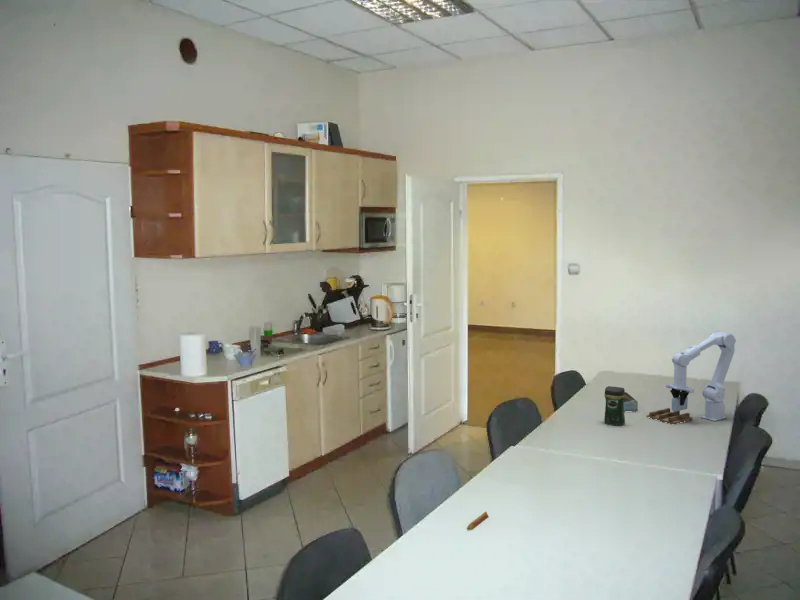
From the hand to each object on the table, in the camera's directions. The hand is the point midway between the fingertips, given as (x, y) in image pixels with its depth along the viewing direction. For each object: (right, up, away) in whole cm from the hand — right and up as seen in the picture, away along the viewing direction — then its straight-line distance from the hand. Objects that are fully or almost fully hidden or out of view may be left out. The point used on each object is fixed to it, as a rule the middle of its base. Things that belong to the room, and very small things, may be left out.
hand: (679, 404), depth 342 cm
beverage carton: (-18, -6, +28) cm, 34 cm away
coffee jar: (-33, -9, -1) cm, 34 cm away
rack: (-3, -8, +5) cm, 10 cm away
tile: (0, -3, 0) cm, 3 cm away
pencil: (-113, -23, -112) cm, 161 cm away
